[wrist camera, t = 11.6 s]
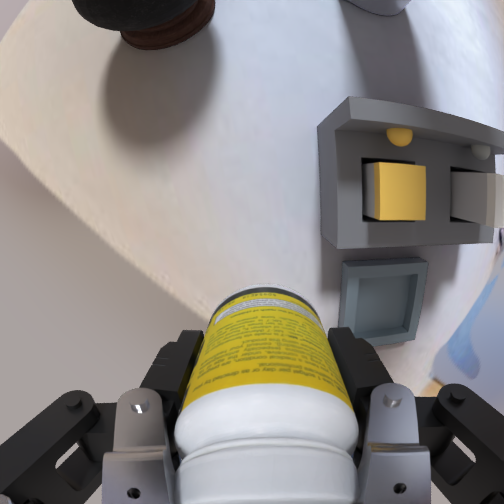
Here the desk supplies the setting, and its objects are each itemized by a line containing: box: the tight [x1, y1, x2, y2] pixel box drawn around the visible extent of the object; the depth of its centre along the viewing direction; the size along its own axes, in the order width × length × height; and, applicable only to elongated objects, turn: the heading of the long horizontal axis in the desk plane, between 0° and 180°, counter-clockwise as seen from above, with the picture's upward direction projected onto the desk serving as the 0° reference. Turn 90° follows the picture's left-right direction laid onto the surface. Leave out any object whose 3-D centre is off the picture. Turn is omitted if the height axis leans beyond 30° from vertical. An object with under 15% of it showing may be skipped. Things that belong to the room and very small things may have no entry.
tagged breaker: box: [361, 162, 426, 220], centre depth 21 cm, size 4×4×8 cm
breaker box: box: [317, 96, 504, 249], centre depth 20 cm, size 18×10×10 cm, turn 93°
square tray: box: [338, 257, 428, 347], centre depth 27 cm, size 9×9×2 cm
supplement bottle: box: [174, 284, 360, 504], centre depth 7 cm, size 5×5×8 cm
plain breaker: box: [450, 172, 504, 228], centre depth 17 cm, size 4×4×8 cm
